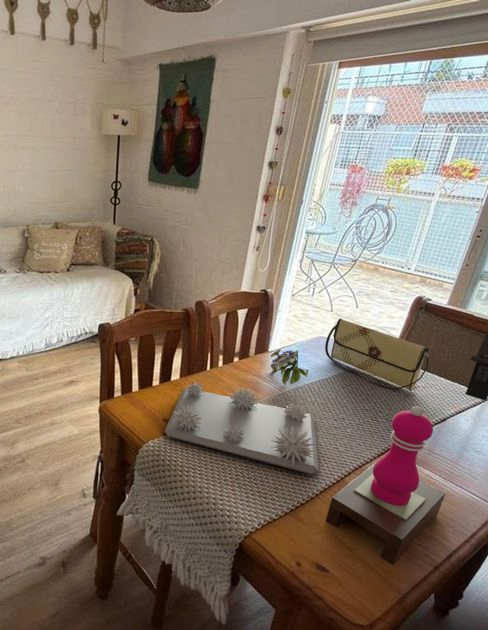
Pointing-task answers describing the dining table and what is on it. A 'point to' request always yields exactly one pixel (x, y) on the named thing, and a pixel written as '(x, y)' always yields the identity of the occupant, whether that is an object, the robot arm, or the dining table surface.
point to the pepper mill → (401, 458)
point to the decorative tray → (246, 428)
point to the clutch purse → (377, 354)
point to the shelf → (386, 513)
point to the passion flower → (283, 362)
